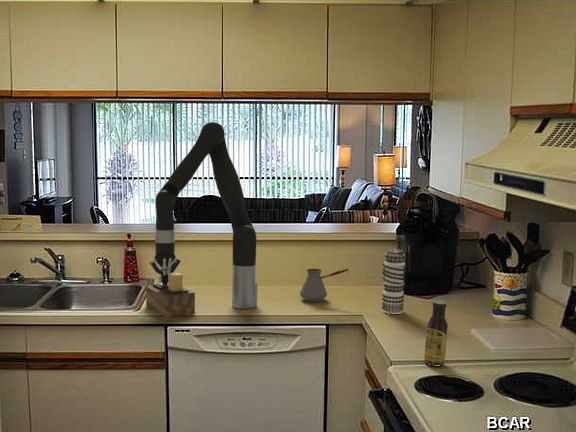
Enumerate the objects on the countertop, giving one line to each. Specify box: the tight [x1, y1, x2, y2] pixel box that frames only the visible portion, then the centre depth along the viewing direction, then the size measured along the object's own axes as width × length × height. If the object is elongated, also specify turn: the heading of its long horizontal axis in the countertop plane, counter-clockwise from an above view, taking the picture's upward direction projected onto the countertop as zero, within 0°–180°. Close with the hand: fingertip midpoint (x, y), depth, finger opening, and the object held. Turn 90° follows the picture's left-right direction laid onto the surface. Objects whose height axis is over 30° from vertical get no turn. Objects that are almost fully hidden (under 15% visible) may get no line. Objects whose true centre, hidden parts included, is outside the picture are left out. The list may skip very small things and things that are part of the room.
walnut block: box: [145, 282, 196, 318], centre depth 261 cm, size 12×18×9 cm, turn 36°
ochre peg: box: [168, 272, 184, 291], centre depth 257 cm, size 4×4×8 cm
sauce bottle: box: [423, 300, 449, 366], centre depth 206 cm, size 6×6×20 cm
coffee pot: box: [299, 268, 351, 303], centre depth 279 cm, size 21×12×15 cm, turn 65°
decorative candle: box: [381, 248, 407, 313], centre depth 264 cm, size 9×9×25 cm
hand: (165, 283), depth 264 cm, fingers closed
